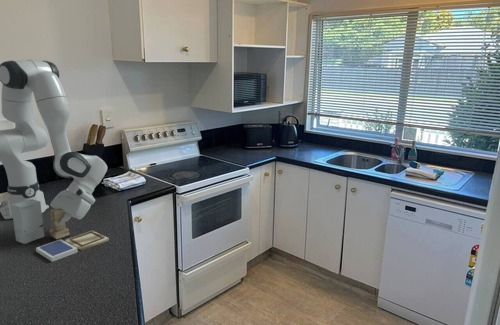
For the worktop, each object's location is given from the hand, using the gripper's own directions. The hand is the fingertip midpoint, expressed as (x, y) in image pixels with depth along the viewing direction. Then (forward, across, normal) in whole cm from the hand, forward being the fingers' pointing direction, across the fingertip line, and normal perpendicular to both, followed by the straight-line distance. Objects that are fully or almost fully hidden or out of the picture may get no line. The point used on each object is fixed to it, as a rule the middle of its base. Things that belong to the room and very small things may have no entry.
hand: (56, 222), depth 144 cm
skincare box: (+10, -7, -1) cm, 12 cm away
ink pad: (+9, +12, 0) cm, 15 cm away
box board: (0, +12, +8) cm, 14 cm away
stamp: (+4, 0, +5) cm, 6 cm away
